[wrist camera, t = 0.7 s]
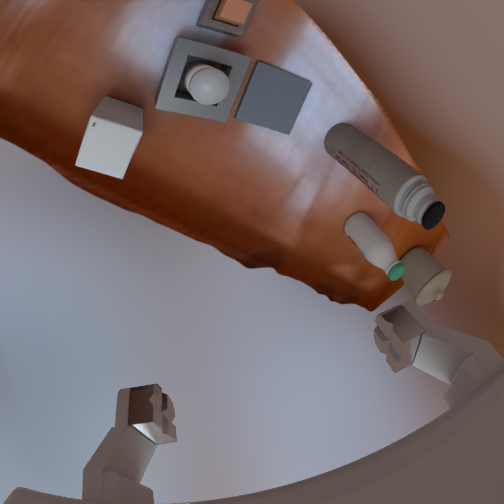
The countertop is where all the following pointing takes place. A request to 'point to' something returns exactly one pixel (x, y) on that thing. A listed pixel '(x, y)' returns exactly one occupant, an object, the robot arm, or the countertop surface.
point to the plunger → (232, 11)
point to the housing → (185, 103)
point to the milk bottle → (373, 244)
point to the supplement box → (111, 137)
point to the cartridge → (205, 83)
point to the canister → (424, 276)
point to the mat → (272, 98)
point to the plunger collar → (221, 27)
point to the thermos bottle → (385, 175)
